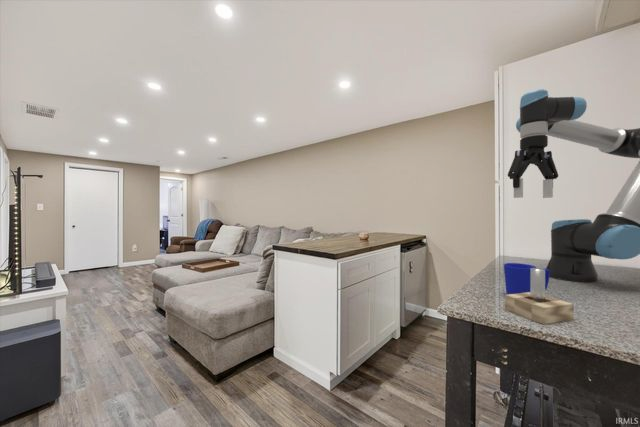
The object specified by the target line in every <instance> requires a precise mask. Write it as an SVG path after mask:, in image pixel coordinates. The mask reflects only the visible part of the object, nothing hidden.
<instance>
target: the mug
mask: <svg viewBox="0 0 640 427" xmlns="http://www.w3.org/2000/svg"><path fill="white" fill-rule="evenodd" d="M531 268H537V266H534V265H533V264H527V263H517V262H516V263H515V262H508V263H507V262H505V263H504V264H503V271H504V281H505V282H504V283H505V292H506V295H509V294H517V293H526V292H530V273H531ZM540 268H541V269H543V268H542V267H540ZM544 269H545V292H546V290H547V289H548V286H549V282H550V281H549V280H550V276H549V274H550V271H549V270H548V269H546V268H544Z"/></svg>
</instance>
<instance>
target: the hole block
mask: <svg viewBox="0 0 640 427" xmlns="http://www.w3.org/2000/svg"><path fill="white" fill-rule="evenodd" d="M504 310H505V311H508V312H510V313H513V314H515V315H516V314H517V315H518V316H521V317H524V318H527V319H529V320H531V321H534V322H537V323H539V324H541V325H548V324H554V323H561V322H567V321H573V320H574V303H571V302H569V301H564V300H561V299H558V298H555V297H552V296H549V295H545V302H542V303H539V302H536V301H533V300H530V292H526V293H517V294H509V295H508V294H505V295H504Z"/></svg>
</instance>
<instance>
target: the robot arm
mask: <svg viewBox="0 0 640 427" xmlns="http://www.w3.org/2000/svg"><path fill="white" fill-rule="evenodd" d="M519 102H520V103H519V118H518V119H517V121H516V124H515V127H516V131H517V132H518V133H519V135H520V136H519V138H520V140H519V149H518V150H515V151H514V158H513V160H512V162H511V165H510V167H509V170H508V173H507V177H508V179H510V180H512V187H513V198H514V199H517V198H520V199H521V198H524V177H523V178H522V176H523V175H524V173H525V172H526V170H527V168H529V166H530V165H534V166H535V167H537V168H538V170H539V171H540V173H541V175H542V176H543V178H544V179H542V198H543V199H546V198H549V199H550V198H553V197H554V190H553V189H554V180H556V179H558V178H559V174H558V169H557V167H556V164H555V162H554V158H553V156H552V155H553V153H552V151H551V150H548V151H545V148H547V147H548V144H549V142H548V140H549V138H548V137H552V138H557V139H560V140H564V141H568V142H571V143H572V142H573V143H576V144H581V145H583V146H584V145H585V146H588V147H592V148H595V149H598V150H599V152H601V153H605V154H608V155H613V156H617V157H623V158H629V159H640V127H638V128H632V129H631V128H630V129H625V128H621V127H617V128H616V127H615V128H608V127H607V128H606V127H603V126H601V125H600V126H599V125H595V124H591V123H588V122H583V121H580V120H578V119H579V118H581V117H583V115H584V114H585V112H586V110H587V106H588V105H587V101H586V99H585V98H584V97H580V96H579V97H577V96H566V97H565V96H564V97H562V96H560V97H557V96H556V97H552V96H549V91H548V90H546V89H544V88H542V89H534V90H531V91H528V92H526V93H524V94H522V96H521V97H520V101H519ZM550 238H551V240H550V242H551V244H550V245H551V252H550V253H551V255H550V259H549V261H548V263H547V266H546V268H545V269H548V270H549V271H550V274H549V278H555V279H558V280H563V281H571V282H579V283H580V282H581V283H593V282H594V283H596V282H598V281H599V276H598V275H599V274H598V273H597V270H596V267H595V266H594V263H593V260H592V256H595V257H600V258H601V257H602V258H605V259H610V260H629V259H633V258H635V257H636V258H637V257H638V256H639V255H640V160H639V161H638V162H637V164H636V165H635V167H634V169H633V170H632V172H631V173H630V175H629V176H628V178H627V180H626V181H625V182H624V184H623V186H622V187H621V189H620V191H619V192H618V194H617V195H616V196H615V198H614V200H613V202H611V205H610V206H609V207H608V209H607V210H606V212H604V213H599V214H597V215H596V217H595V219H594V221H593V222H592V220H591V219H587V218H586V219H585V218H584V219H583V218H582V219H563V220H561V219H560V220H556V221H553V222H552V224H551V229H550Z"/></svg>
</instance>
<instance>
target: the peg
mask: <svg viewBox="0 0 640 427" xmlns="http://www.w3.org/2000/svg"><path fill="white" fill-rule="evenodd" d="M541 268H542V267H540V268H539V267H536V268H531V273H530V300H533V301H536V302H539V303H542V302H545V296H546V291H545V269H546V268H542V269H541Z"/></svg>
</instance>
